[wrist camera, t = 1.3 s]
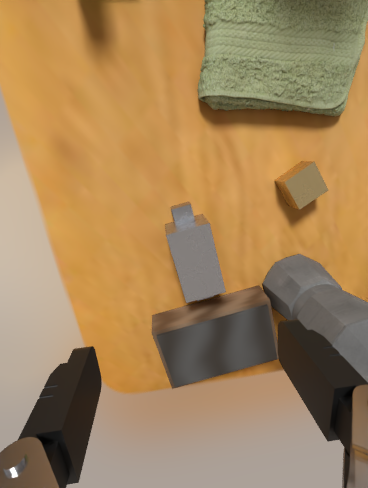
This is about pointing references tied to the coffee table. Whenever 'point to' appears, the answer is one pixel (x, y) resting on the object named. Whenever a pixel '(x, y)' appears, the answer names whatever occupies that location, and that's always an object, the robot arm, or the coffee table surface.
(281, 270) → the coffeepot
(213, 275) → the block
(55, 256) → the coffee table surface
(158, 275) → the coffee table surface
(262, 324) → the stand
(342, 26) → the washcloth
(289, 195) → the brass block
